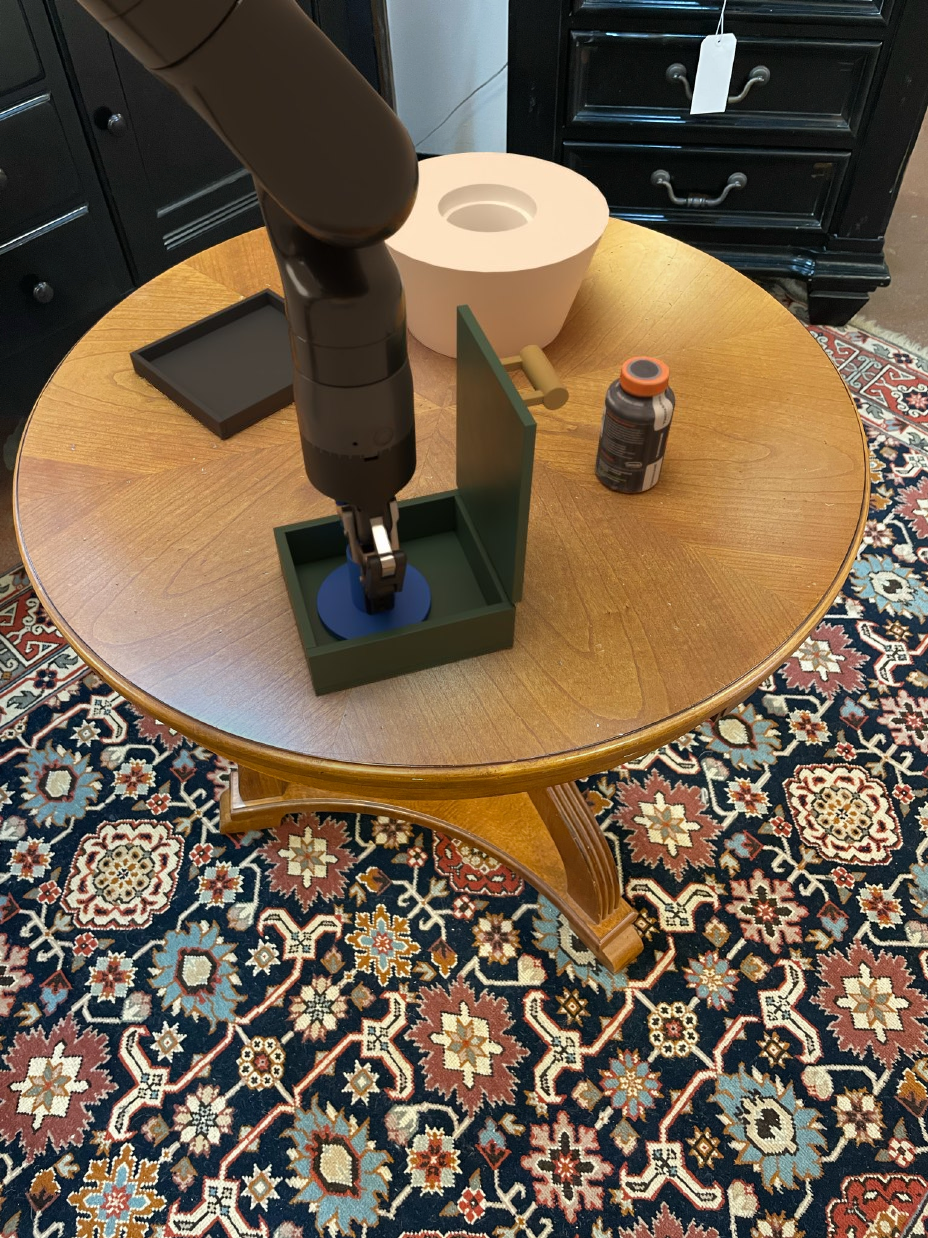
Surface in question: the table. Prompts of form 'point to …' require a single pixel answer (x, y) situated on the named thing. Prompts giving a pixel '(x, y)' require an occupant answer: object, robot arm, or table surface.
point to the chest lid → (499, 442)
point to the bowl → (496, 248)
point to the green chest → (450, 563)
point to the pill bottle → (635, 426)
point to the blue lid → (347, 611)
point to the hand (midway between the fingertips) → (373, 590)
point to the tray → (225, 364)
